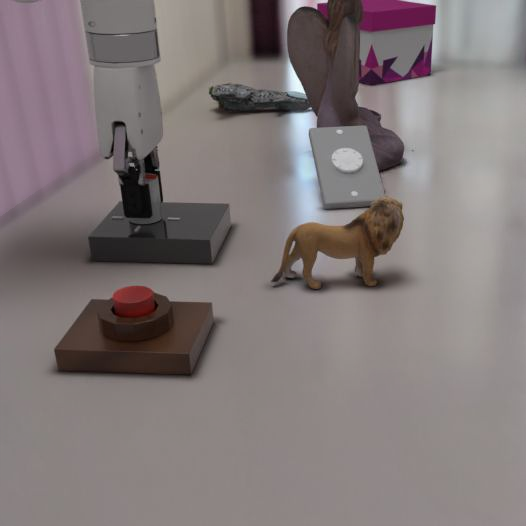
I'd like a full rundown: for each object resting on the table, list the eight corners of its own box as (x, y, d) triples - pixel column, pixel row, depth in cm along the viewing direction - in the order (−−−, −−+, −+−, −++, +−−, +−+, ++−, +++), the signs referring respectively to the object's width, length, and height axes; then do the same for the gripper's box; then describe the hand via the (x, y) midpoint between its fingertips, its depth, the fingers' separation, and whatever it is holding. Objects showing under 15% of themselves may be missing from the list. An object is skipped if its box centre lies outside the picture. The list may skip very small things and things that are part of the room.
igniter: (58, 370, 71) (49, 331, 69) (94, 318, 80) (88, 282, 78) (191, 374, 71) (187, 335, 69) (213, 322, 79) (210, 285, 77)
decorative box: (378, 63, 198) (380, -3, 191) (432, 75, 186) (436, 5, 178) (318, 72, 188) (317, 3, 180) (370, 85, 175) (372, 12, 168)
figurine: (419, 169, 123) (428, -8, 110) (331, 181, 118) (329, -3, 105) (369, 140, 137) (372, -20, 124) (288, 150, 132) (283, -16, 119)
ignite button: (109, 319, 72) (107, 302, 71) (121, 301, 75) (119, 284, 74) (149, 320, 72) (146, 303, 71) (159, 302, 75) (157, 285, 74)
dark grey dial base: (91, 261, 92) (87, 235, 90) (122, 223, 102) (119, 199, 101) (212, 264, 91) (209, 238, 90) (231, 226, 102) (229, 202, 100)
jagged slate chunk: (314, 115, 147) (315, 84, 146) (204, 108, 145) (205, 77, 144) (311, 118, 163) (312, 91, 162) (212, 112, 161) (212, 85, 160)
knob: (124, 224, 94) (118, 180, 91) (133, 212, 97) (128, 169, 95) (157, 224, 94) (152, 181, 91) (166, 213, 97) (161, 170, 95)
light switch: (325, 199, 106) (309, 122, 113) (322, 228, 111) (306, 153, 118) (387, 195, 107) (367, 119, 115) (382, 224, 112) (362, 150, 120)
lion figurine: (394, 264, 92) (396, 188, 87) (408, 283, 87) (412, 204, 83) (267, 277, 88) (263, 199, 84) (275, 297, 84) (272, 216, 80)
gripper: (113, 35, 93) (133, 186, 102) (61, 61, 79) (90, 235, 88) (176, 36, 93) (191, 188, 102) (136, 62, 78) (157, 237, 88)
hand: (144, 208), depth 95 cm, fingers closed on knob, 4 cm apart
